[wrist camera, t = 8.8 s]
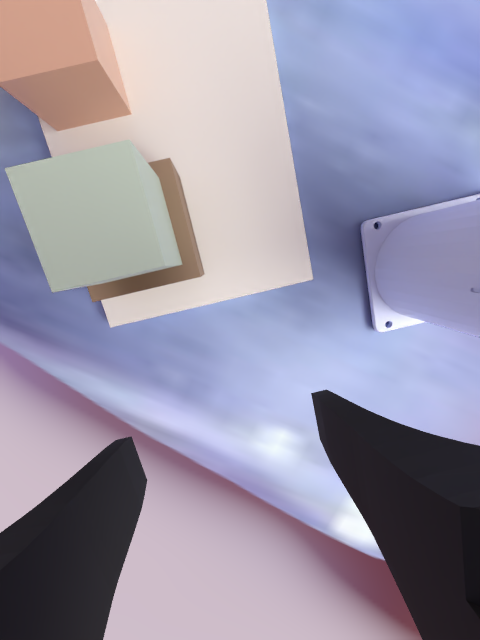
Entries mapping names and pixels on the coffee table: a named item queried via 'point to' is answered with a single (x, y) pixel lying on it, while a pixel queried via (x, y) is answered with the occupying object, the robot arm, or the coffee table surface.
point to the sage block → (95, 215)
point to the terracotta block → (60, 61)
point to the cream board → (206, 143)
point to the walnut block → (182, 235)
